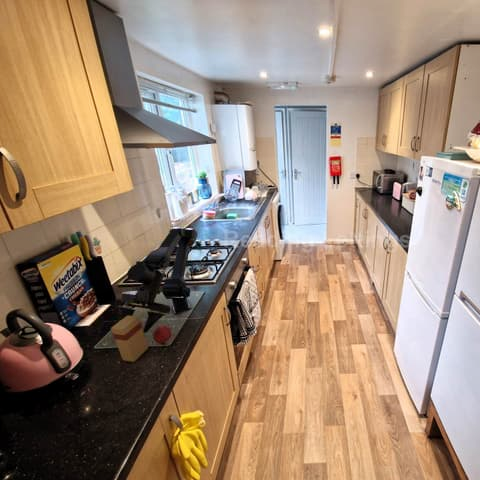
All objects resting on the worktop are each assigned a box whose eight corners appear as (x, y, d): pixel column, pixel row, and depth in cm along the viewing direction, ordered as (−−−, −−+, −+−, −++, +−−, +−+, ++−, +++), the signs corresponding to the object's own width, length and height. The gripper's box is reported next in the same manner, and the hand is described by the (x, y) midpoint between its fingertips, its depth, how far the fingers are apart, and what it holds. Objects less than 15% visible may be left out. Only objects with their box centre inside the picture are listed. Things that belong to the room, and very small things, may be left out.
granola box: (122, 360, 91) (110, 327, 85) (138, 346, 97) (127, 315, 91) (134, 362, 90) (122, 329, 85) (148, 347, 96) (138, 316, 91)
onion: (165, 349, 95) (160, 331, 92) (151, 346, 96) (146, 329, 93) (176, 338, 101) (172, 321, 98) (163, 335, 102) (158, 319, 99)
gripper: (110, 278, 91) (89, 324, 86) (156, 284, 88) (137, 333, 82) (135, 285, 101) (118, 327, 96) (178, 291, 98) (162, 335, 92)
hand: (133, 330), depth 91 cm, fingers open, 9 cm apart
